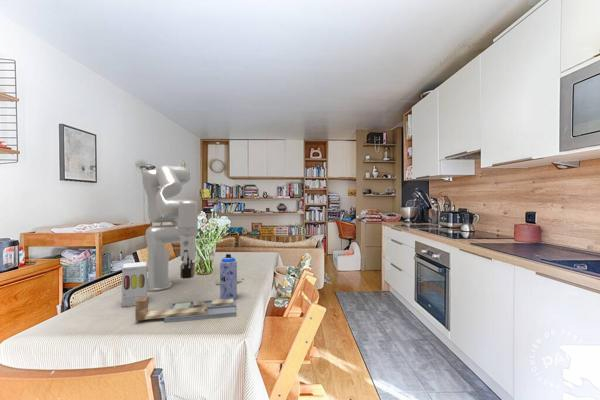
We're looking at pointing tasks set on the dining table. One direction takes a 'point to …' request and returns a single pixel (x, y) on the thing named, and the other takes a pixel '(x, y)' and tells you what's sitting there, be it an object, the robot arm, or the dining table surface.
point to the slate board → (211, 313)
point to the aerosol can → (228, 277)
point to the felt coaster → (182, 306)
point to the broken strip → (214, 303)
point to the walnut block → (192, 266)
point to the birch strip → (163, 311)
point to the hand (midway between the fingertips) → (187, 275)
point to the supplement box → (133, 282)
